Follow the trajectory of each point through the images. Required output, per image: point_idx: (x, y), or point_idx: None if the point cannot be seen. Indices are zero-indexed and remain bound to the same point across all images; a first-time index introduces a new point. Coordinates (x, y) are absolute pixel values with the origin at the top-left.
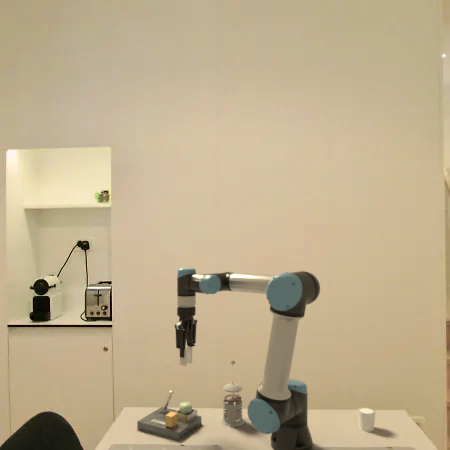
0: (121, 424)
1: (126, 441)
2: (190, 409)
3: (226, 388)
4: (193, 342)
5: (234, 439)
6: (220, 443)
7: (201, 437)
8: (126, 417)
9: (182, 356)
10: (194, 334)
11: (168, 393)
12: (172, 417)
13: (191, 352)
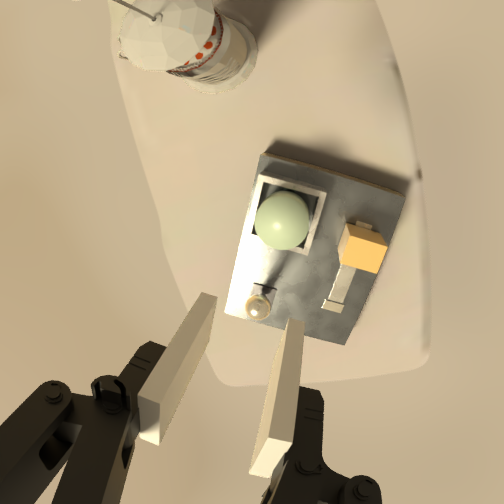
0: (321, 373)
1: (412, 329)
2: (292, 196)
3: (195, 40)
4: (70, 409)
5: (344, 19)
6: (383, 57)
7: (361, 125)
8: None
9: (322, 403)
10: (5, 475)
11: (264, 317)
12: (381, 243)
13: (176, 355)
